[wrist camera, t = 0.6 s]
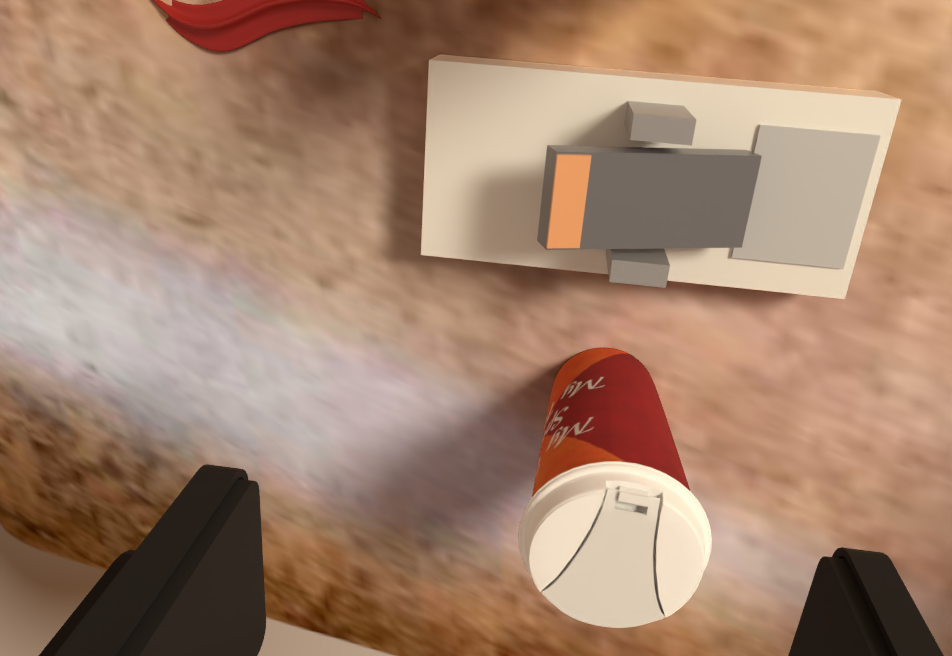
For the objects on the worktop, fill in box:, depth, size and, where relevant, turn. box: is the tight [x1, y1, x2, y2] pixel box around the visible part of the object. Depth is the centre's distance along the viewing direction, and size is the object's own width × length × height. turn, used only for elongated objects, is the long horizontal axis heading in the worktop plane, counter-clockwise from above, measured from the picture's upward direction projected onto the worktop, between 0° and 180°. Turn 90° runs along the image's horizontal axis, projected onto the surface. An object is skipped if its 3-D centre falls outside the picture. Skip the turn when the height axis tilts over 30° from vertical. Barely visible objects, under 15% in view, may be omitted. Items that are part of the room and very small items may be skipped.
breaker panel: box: [421, 54, 901, 299], centre depth 35 cm, size 20×9×7 cm, turn 86°
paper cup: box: [518, 348, 712, 628], centre depth 37 cm, size 8×8×14 cm
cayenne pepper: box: [153, 0, 381, 51], centre depth 36 cm, size 12×5×2 cm, turn 77°
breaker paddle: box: [537, 145, 762, 250], centre depth 32 cm, size 9×4×1 cm, turn 86°
